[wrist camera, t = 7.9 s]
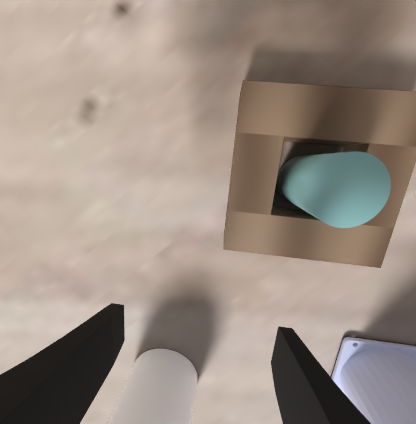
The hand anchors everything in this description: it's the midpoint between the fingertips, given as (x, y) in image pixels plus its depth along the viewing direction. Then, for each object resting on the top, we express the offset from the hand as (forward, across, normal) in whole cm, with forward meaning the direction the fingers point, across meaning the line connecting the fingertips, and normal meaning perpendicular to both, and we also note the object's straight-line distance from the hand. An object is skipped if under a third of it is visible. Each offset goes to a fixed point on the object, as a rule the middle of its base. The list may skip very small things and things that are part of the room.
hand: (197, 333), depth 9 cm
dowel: (+10, -7, -7) cm, 14 cm away
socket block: (+10, -7, -7) cm, 14 cm away
